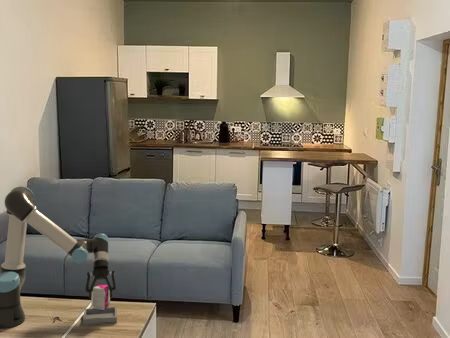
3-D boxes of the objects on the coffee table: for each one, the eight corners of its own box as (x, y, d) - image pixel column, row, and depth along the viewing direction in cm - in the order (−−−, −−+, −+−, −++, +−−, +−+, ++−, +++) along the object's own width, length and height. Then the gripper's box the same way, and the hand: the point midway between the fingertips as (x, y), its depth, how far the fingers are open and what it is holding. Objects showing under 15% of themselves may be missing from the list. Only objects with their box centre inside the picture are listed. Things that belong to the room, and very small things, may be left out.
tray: (83, 325, 233) (82, 319, 233) (84, 314, 246) (84, 308, 246) (116, 322, 237) (116, 317, 237) (116, 311, 249) (116, 306, 249)
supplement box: (104, 311, 238) (103, 288, 236) (92, 310, 239) (92, 288, 237) (109, 306, 243) (108, 284, 242) (98, 305, 244) (97, 283, 243)
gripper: (120, 264, 256) (121, 305, 242) (81, 266, 251) (79, 309, 238) (120, 257, 250) (121, 299, 236) (80, 260, 246) (78, 303, 232)
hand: (100, 304), depth 237 cm, fingers closed on supplement box, 7 cm apart
